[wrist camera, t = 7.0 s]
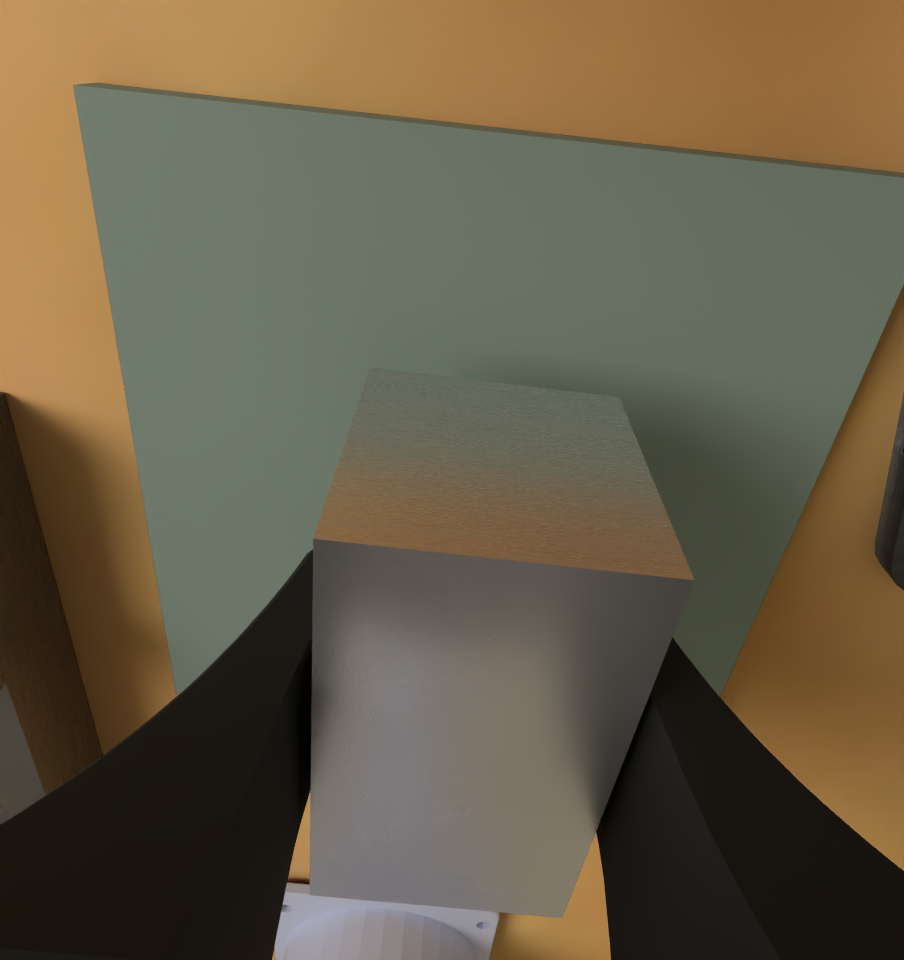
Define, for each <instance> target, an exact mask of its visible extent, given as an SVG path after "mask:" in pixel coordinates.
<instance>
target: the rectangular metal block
mask: <svg viewBox="0 0 904 960" xmlns="http://www.w3.org/2000/svg"><path fill="white" fill-rule="evenodd" d="M693 583H694V578H693V575H692V573H691V570H690V568H689V566H688V563H687V561H686V558H685V556H684V553H683V551H682V549H681V546H680V544H679V541H678V539H677V536H676V534H675V532H674V529H673V527H672V524H671V522H670V519H669V517H668V515H667V512H666V510H665V507H664V505H663V502H662V500H661V498H660V495H659V493H658V490H657V488H656V485H655V483H654V481H653V478H652V476H651V473H650V471H649V468H648V466H647V464H646V461H645V459H644V456H643V454H642V451H641V449H640V447H639V444H638V442H637V439H636V437H635V434H634V432H633V430H632V427H631V425H630V422H629V420H628V417H627V415H626V413H625V410H624V408H623V405H622V403H621V400H620V398H619V397H616V396H607V395H599V394H590V393H582V392H573V391H565V390H556V389H548V388H539V387H531V386H523V385H514V384H506V383H497V382H489V381H480V380H472V379H463V378H455V377H446V376H438V375H430V374H421V373H413V372H404V371H396V370H387V369H379V368H369V371H368V374H367V377H366V380H365V384H364V387H363V390H362V393H361V396H360V399H359V402H358V405H357V408H356V411H355V414H354V417H353V420H352V423H351V426H350V429H349V432H348V435H347V438H346V441H345V444H344V447H343V450H342V453H341V456H340V459H339V462H338V465H337V468H336V471H335V474H334V477H333V480H332V484H331V487H330V490H329V493H328V496H327V499H326V502H325V505H324V508H323V511H322V514H321V517H320V520H319V523H318V526H317V529H316V532H315V535H314V538H313V611H312V707H311V803H310V895H312V896H323V897H334V898H345V899H357V900H368V901H379V902H390V903H401V904H412V905H423V906H434V907H445V908H456V909H468V910H479V911H490V912H501V913H512V914H523V915H534V916H545V917H556V918H562V917H563V915H564V912H565V910H566V907H567V904H568V902H569V899H570V897H571V894H572V892H573V889H574V887H575V884H576V881H577V879H578V876H579V874H580V871H581V869H582V866H583V864H584V861H585V858H586V856H587V853H588V851H589V848H590V846H591V843H592V841H593V838H594V836H595V833H596V830H597V828H598V825H599V823H600V820H601V818H602V815H603V813H604V810H605V807H606V805H607V802H608V800H609V797H610V795H611V792H612V790H613V787H614V785H615V782H616V779H617V777H618V774H619V772H620V769H621V767H622V764H623V762H624V759H625V756H626V754H627V751H628V749H629V746H630V744H631V741H632V739H633V736H634V734H635V731H636V728H637V726H638V723H639V721H640V718H641V716H642V713H643V711H644V708H645V705H646V703H647V700H648V698H649V695H650V693H651V690H652V688H653V685H654V682H655V680H656V677H657V675H658V672H659V670H660V667H661V665H662V662H663V660H664V657H665V654H666V652H667V649H668V647H669V644H670V642H671V639H672V637H673V634H674V631H675V629H676V626H677V624H678V621H679V619H680V616H681V614H682V611H683V609H684V606H685V603H686V601H687V598H688V596H689V593H690V591H691V588H692V586H693Z"/></svg>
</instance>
